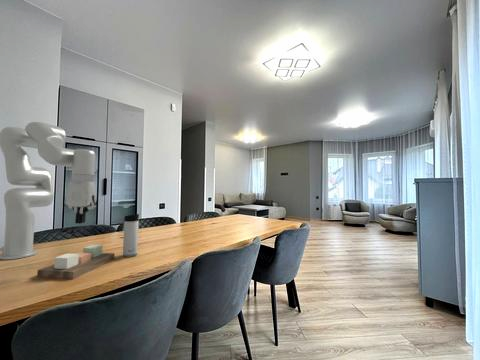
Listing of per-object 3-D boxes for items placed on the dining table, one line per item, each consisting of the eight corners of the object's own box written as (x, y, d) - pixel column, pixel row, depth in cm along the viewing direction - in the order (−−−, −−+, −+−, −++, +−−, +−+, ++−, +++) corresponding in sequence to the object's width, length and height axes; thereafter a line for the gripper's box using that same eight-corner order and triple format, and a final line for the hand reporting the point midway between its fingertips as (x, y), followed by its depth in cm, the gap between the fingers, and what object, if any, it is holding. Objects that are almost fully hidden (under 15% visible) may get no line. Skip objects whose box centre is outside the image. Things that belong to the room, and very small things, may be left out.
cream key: (54, 268, 79) (54, 257, 79) (66, 263, 84) (66, 253, 84) (66, 269, 79) (67, 258, 79) (78, 264, 84) (78, 254, 84)
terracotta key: (69, 266, 86) (69, 256, 86) (79, 262, 91) (80, 252, 91) (81, 267, 85) (81, 256, 85) (90, 262, 90) (91, 253, 90)
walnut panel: (37, 276, 78) (37, 269, 78) (85, 257, 99) (86, 252, 100) (73, 279, 76) (73, 271, 76) (114, 258, 98) (114, 253, 98)
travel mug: (131, 257, 100) (133, 214, 101) (119, 256, 101) (121, 214, 102) (140, 253, 106) (142, 213, 107) (129, 252, 108) (130, 212, 108)
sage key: (82, 257, 92) (83, 247, 92) (91, 253, 97) (92, 244, 97) (93, 257, 92) (94, 248, 92) (102, 254, 97) (102, 245, 97)
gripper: (58, 178, 87) (55, 223, 86) (92, 179, 85) (89, 225, 85) (74, 178, 94) (71, 220, 94) (106, 180, 93) (103, 222, 92)
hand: (80, 222), depth 89 cm, fingers closed
